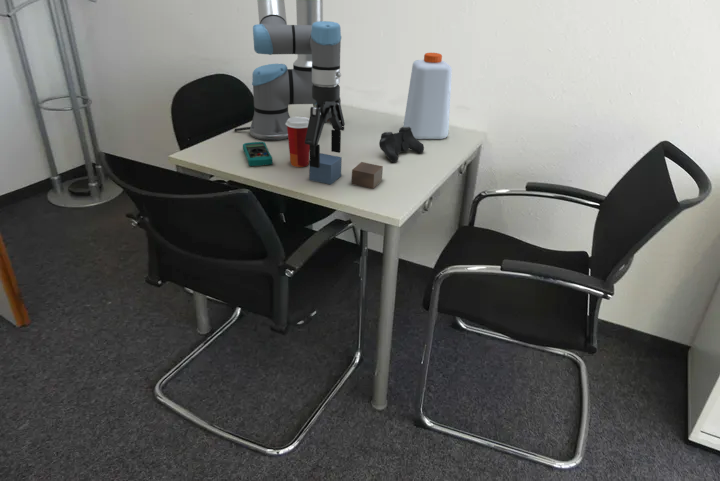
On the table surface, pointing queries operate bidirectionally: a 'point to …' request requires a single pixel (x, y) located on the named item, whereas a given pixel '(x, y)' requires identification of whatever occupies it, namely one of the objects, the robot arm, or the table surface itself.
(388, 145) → the game controller
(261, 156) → the digital multimeter
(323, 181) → the slate block
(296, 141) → the paper cup
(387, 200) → the table surface
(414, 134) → the plastic bottle
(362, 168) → the walnut block
